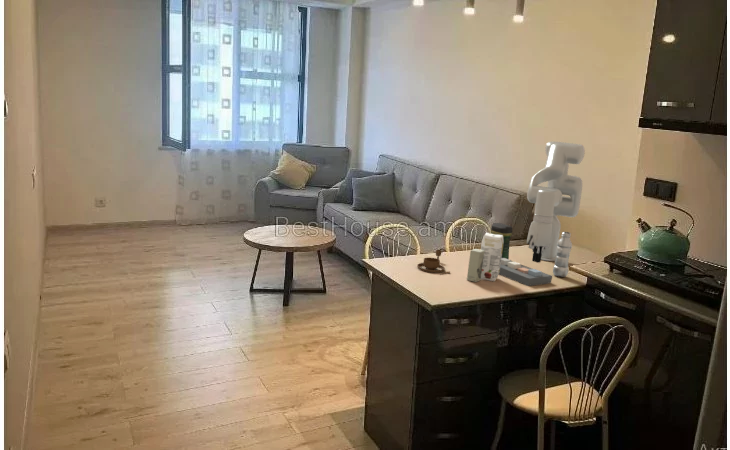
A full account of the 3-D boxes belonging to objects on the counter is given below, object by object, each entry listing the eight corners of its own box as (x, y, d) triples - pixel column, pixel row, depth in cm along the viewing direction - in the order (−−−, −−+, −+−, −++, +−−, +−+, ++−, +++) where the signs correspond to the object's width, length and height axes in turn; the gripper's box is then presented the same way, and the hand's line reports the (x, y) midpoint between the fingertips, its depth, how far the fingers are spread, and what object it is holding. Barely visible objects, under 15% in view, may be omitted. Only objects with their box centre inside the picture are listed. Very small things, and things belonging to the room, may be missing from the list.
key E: (534, 273, 273) (534, 269, 272) (541, 276, 269) (542, 271, 269) (527, 274, 271) (528, 269, 270) (534, 277, 267) (535, 272, 267)
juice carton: (496, 282, 265) (502, 238, 261) (476, 278, 267) (481, 234, 264) (499, 278, 272) (505, 234, 268) (479, 274, 274) (485, 231, 271)
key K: (504, 262, 287) (504, 257, 287) (510, 264, 284) (511, 260, 284) (497, 262, 285) (498, 258, 285) (504, 265, 282) (504, 260, 282)
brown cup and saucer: (406, 266, 278) (407, 253, 277) (436, 261, 292) (437, 249, 291) (436, 277, 266) (438, 263, 265) (466, 271, 280) (467, 258, 278)
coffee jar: (510, 264, 297) (516, 225, 293) (500, 266, 292) (505, 226, 288) (494, 259, 304) (499, 221, 300) (483, 260, 299) (488, 222, 295)
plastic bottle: (559, 278, 280) (566, 234, 275) (548, 274, 285) (555, 231, 281) (570, 278, 283) (577, 234, 278) (559, 273, 288) (566, 230, 284)
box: (476, 282, 262) (480, 252, 259) (466, 280, 264) (470, 250, 261) (480, 280, 266) (484, 250, 264) (471, 277, 269) (475, 248, 266)
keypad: (508, 266, 292) (509, 260, 291) (551, 283, 272) (552, 275, 271) (486, 269, 284) (487, 262, 284) (528, 285, 264) (529, 278, 263)
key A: (513, 265, 283) (514, 261, 282) (520, 268, 279) (521, 264, 279) (507, 266, 280) (508, 262, 280) (513, 269, 277) (514, 264, 277)
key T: (523, 272, 278) (524, 267, 277) (530, 274, 275) (531, 270, 274) (516, 272, 276) (517, 268, 275) (523, 275, 272) (524, 270, 272)
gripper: (548, 216, 272) (541, 258, 276) (523, 217, 264) (517, 260, 268) (561, 220, 266) (555, 263, 270) (537, 221, 258) (530, 265, 262)
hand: (536, 261), depth 269 cm, fingers closed
